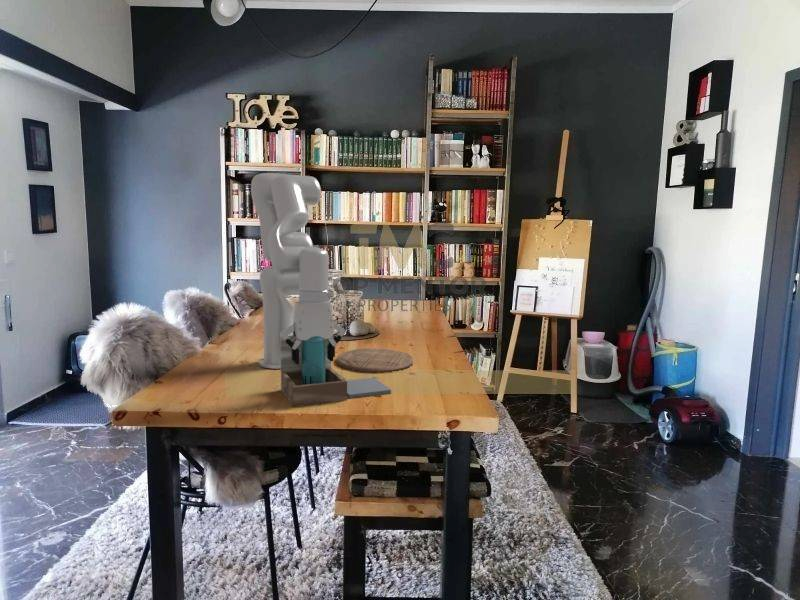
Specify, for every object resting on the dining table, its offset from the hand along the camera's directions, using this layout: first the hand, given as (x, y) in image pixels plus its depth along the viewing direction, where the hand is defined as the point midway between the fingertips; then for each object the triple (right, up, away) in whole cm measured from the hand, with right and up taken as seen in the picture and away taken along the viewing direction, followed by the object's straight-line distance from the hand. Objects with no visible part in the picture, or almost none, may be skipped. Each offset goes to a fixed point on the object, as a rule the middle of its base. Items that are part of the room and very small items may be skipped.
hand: (313, 361), depth 138 cm
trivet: (+15, -5, +36) cm, 39 cm away
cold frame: (0, -9, +1) cm, 9 cm away
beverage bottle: (0, -9, +1) cm, 9 cm away
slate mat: (+12, -9, +7) cm, 17 cm away
